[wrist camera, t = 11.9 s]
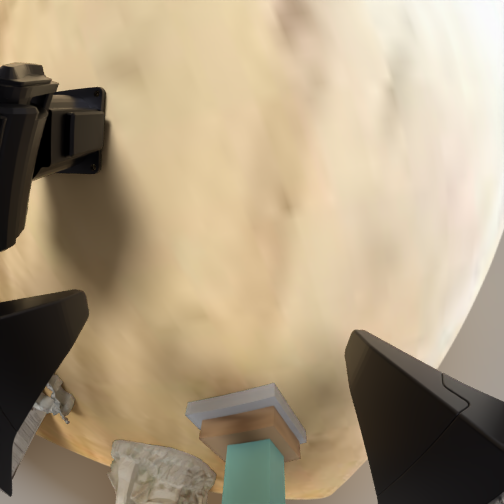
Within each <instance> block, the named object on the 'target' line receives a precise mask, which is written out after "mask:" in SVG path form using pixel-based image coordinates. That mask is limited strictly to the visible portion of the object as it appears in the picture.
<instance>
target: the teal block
mask: <svg viewBox="0 0 504 504" xmlns="http://www.w3.org/2000/svg"><path fill="white" fill-rule="evenodd" d="M222 497H223V498H222V504H285V477H284V456H283V455H282V454H281V452H280V451H279V450H278V449H277V447H276V446H275V445H274V444H273V442H272V441H271V440H270V439H265V440H260V441H254V442H247V443H241V444H233V445H227V455H226V465H225V475H224V486H223V496H222Z"/></svg>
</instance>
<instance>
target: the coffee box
mask: <svg viewBox="0 0 504 504" xmlns="http://www.w3.org/2000/svg"><path fill="white" fill-rule="evenodd" d="M46 414H47V413H46V412H44V411H40V410H38V409H36V408H34V407H32V409H31V411H30V412H29V414H28V416H27V417H26V419H25V421H24V422H23V424H22V426H21V427H20V429H19V431H18V432H17V434H16V436H15V439H14V442H13V450H12V479H13V477H14V475H15V472H16V470H17V468H18V466H19V464H20V462H21V460H22V458H23V456H24V454H25V452H26V450H27V449H28V447H29V444H30V443H31V441H32V438H33V437H34V435H35V433H36V431H37V430H38V428H39V426H40V424H41V422H42V421H43V419H44V417H45V415H46Z"/></svg>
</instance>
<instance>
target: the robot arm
mask: <svg viewBox="0 0 504 504" xmlns="http://www.w3.org/2000/svg"><path fill="white" fill-rule="evenodd" d="M58 85H59V83H57V82H54V81H52V79H51V78H48V77H46V75H44V71H43V67H42V65H38V64H31V63H11V64H6V65H3V66H1V67H0V252H2V251H5V250H6V249H8V248H10V247H11V246H13V245H14V244H15V243H16V238H17V237H18V236H19V235H20V233H21V232H22V231H23V230H24V227H25V222H26V215H27V211H28V201H29V195H30V189H31V183H32V181H34V180H37V179H39V178H42V177H45V176H47V175H50V174H53V173H77V174H96V173H98V172H99V171H100V170H101V152H102V147H103V138H104V119H105V114H104V113H103V112H104V99H105V90H104V89H103V88H101V87H92V88H83V89H75V90H67V91H60V92H56V90H57V87H58ZM98 91H99V93H100V94H99V96H98V97H97V95H96V94H97V92H98ZM94 164H95V166H96V169H94V168H93V165H94ZM88 316H89V309H88V304H87V298H86V294H85V292H84V291H80V290H76V289H74V290H68V291H62V292H57V293H51V294H46V295H40V296H34V297H29V298H23V299H17V300H12V301H6V302H0V490H1V491H2V492H4V493H5V494H7V495H8V496H10V497H11V496H12V450H13V442H14V439H15V436H16V434H17V432H18V431H19V429H20V427H21V426H22V424H23V422H24V421H25V419H26V417H27V416H28V414H29V412H30V411H31V409H32V407H33V406H34V404H35V402H36V401H37V399H38V398H39V396H40V394H41V393H42V391H43V390H44V388H45V387H46V385H47V384H48V382H49V381H50V379H51V377H52V376H53V374H54V373H55V371H56V370H57V368H58V367H59V365H60V364H61V363H62V361H63V360H64V358H65V357H66V355H67V354H68V352H69V351H70V349H71V348H72V346H73V345H74V343H75V341H76V339H77V337H78V335H79V334H80V332H81V330H82V328H83V326H84V325H85V323H86V321H87V319H88ZM345 361H346V368H347V374H348V381H349V388H350V392H351V396H352V400H353V403H354V407H355V410H356V414H357V418H358V421H359V425H360V429H361V433H362V437H363V441H364V445H365V448H366V452H367V456H368V461H369V465H370V469H371V473H372V477H373V481H374V486H375V490H376V495H377V499H378V504H504V402H503V401H501V400H499V399H496V398H494V397H492V396H489V395H487V394H485V393H483V392H481V391H479V390H476V389H474V388H472V387H470V386H468V385H466V384H464V383H462V382H460V381H458V380H456V379H454V378H452V377H450V376H448V375H446V374H445V373H441V372H440V371H438V370H436V369H434V368H433V367H431V366H429V365H427V364H425V363H423V362H422V361H420V360H418V359H416V358H414V357H412V356H411V355H409V354H407V353H405V352H403V351H401V350H400V349H398V348H396V347H394V346H392V345H390V344H389V343H387V342H385V341H383V340H381V339H380V338H378V337H376V336H374V335H372V334H371V333H369V332H367V331H365V330H354V331H353V332H352V333H351V336H350V339H349V341H348V344H347V346H346V349H345Z"/></svg>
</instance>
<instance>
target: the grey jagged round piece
mask: <svg viewBox="0 0 504 504" xmlns="http://www.w3.org/2000/svg"><path fill="white" fill-rule="evenodd" d="M111 455H112V458H113V459H114V460H113V461H112V464H111V472H110V473H107V475H108V477H109V479H110V480H111V483H112V486H113V487H114V489H115V492H116V504H207V498H208V491H209V490H210V489H211V487H212V486H213V485H214V482H215V479H216V474H215V473H214V471H212V470H211V469H210V467H209V466H208V465H207V464H206V463H205V462H202V460H201V459H199V458H197V457H195V456H193V455H191V454H188V453H185V452H183V451H179V450H177V449H173V448H170V447H165V446H157V445H151V444H144V443H138V442H132V441H126V440H115V441H114V442H113V445H112V450H111Z"/></svg>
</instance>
